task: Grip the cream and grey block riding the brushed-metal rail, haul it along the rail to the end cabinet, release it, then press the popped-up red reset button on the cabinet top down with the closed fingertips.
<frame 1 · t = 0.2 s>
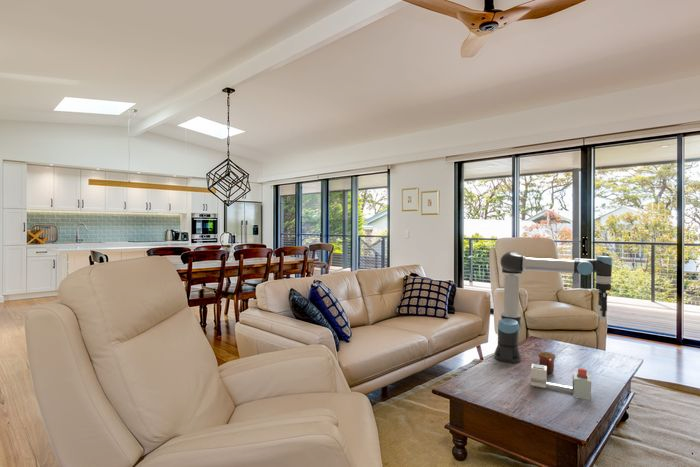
hand: (601, 319, 224), 28 cm above the table, fingers open, 13 cm apart
end cabinet: (581, 394, 189), on the table
reset button: (582, 372, 188), point 11 cm above the table, slide at 0.0 cm
cream and grey block: (538, 375, 198), point 6 cm above the table, slide at 0.0 cm
mug: (547, 374, 214), on the table
rail: (552, 388, 195), on the table
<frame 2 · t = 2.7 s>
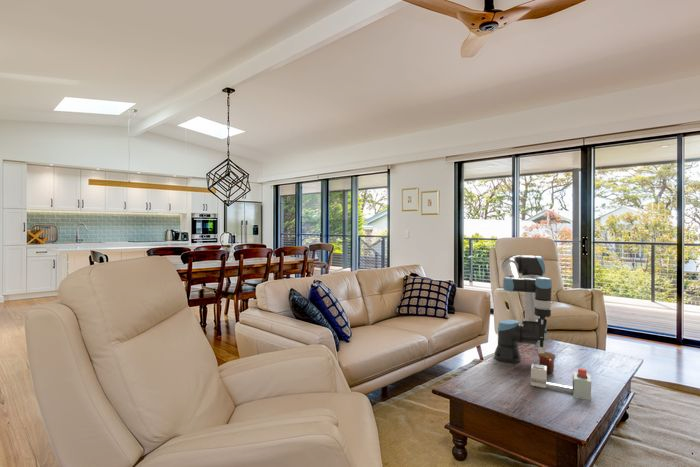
hand: (541, 349, 198), 19 cm above the table, fingers open, 13 cm apart
nothing on the table moved.
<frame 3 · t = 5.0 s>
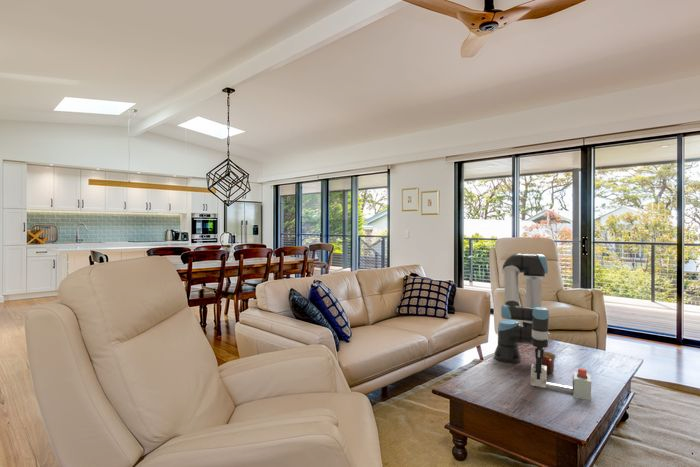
hand: (538, 382, 198), 2 cm above the table, fingers closed on cream and grey block, 7 cm apart
cream and grey block: (538, 375, 198), point 6 cm above the table, slide at 0.0 cm, touching gripper
everything else where it was.
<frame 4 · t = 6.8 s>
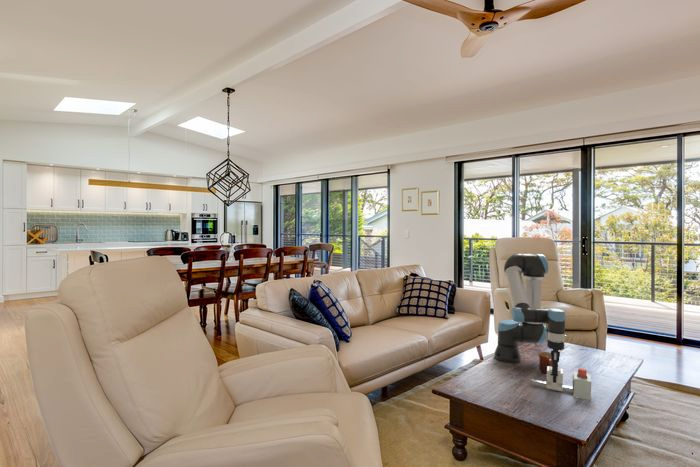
hand: (554, 385, 194), 2 cm above the table, fingers closed on cream and grey block, 7 cm apart
cream and grey block: (554, 377, 194), point 6 cm above the table, slide at 7.2 cm, touching gripper
everything else where it was.
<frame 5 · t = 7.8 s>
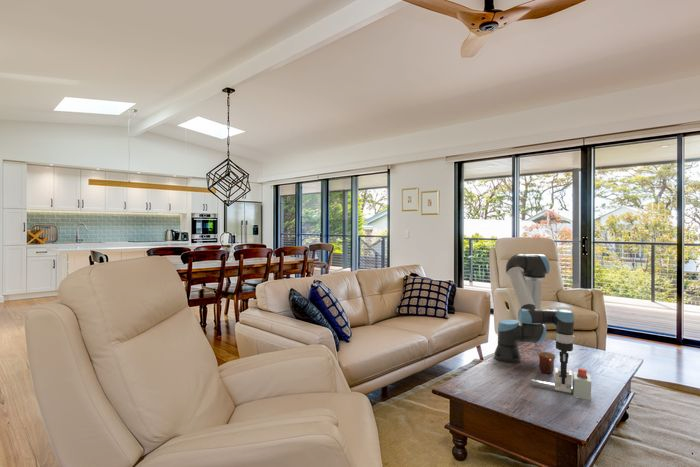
hand: (562, 386, 193), 2 cm above the table, fingers closed on cream and grey block, 7 cm apart
cream and grey block: (563, 379, 192), point 6 cm above the table, slide at 10.9 cm, touching gripper
everything else where it was.
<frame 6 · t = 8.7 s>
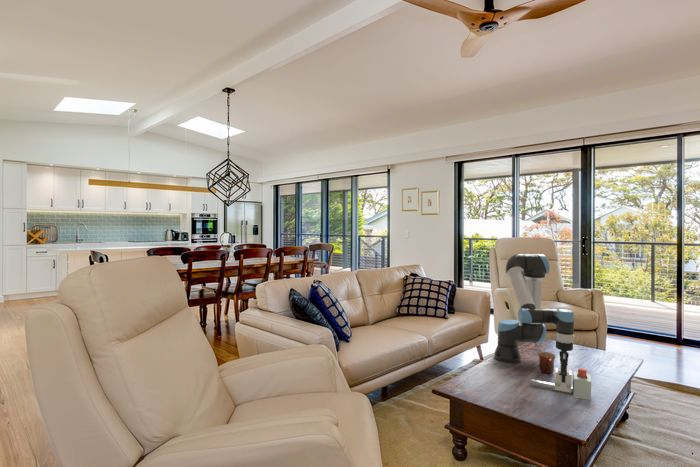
hand: (562, 383, 193), 4 cm above the table, fingers open, 13 cm apart
cream and grey block: (563, 379, 192), point 6 cm above the table, slide at 11.0 cm
everything else where it was.
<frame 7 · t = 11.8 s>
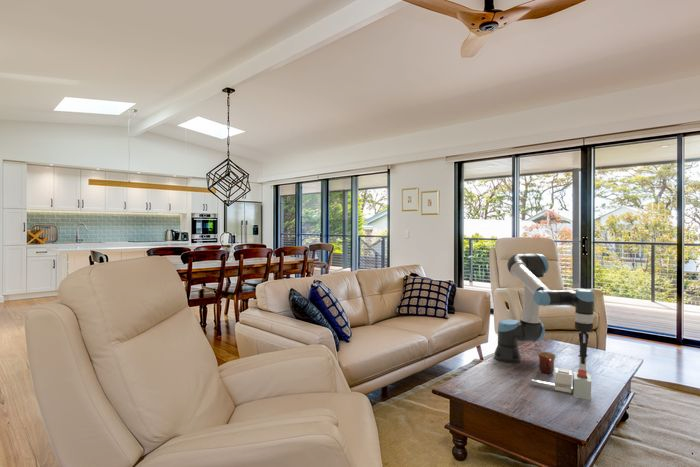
hand: (582, 369, 188), 12 cm above the table, fingers closed
reset button: (582, 373, 188), point 11 cm above the table, slide at 0.1 cm, touching gripper
everything else where it was.
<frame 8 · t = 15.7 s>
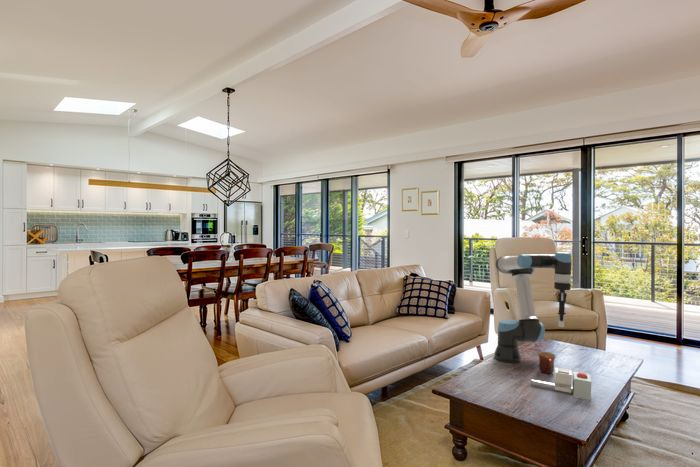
hand: (561, 326, 203), 29 cm above the table, fingers closed
reset button: (582, 377, 188), point 9 cm above the table, slide at 2.1 cm
everything else where it was.
at the end: cream and grey block slide at 11.0 cm; reset button slide at 2.1 cm; the gripper is holding nothing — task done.
